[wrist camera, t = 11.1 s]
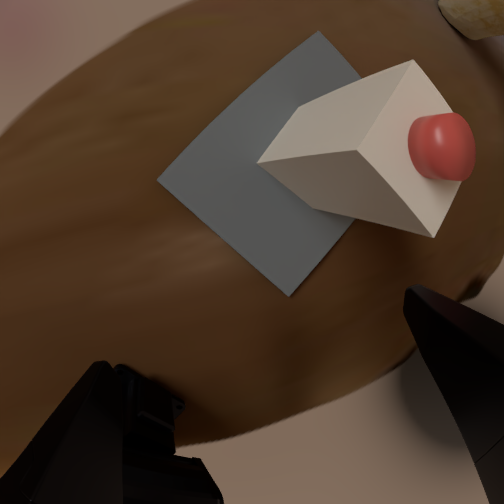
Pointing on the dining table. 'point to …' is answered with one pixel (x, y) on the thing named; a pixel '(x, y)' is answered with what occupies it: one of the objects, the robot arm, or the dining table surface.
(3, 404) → the dining table surface
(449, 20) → the food model
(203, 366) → the dining table surface
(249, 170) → the placemat
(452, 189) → the big red button box
